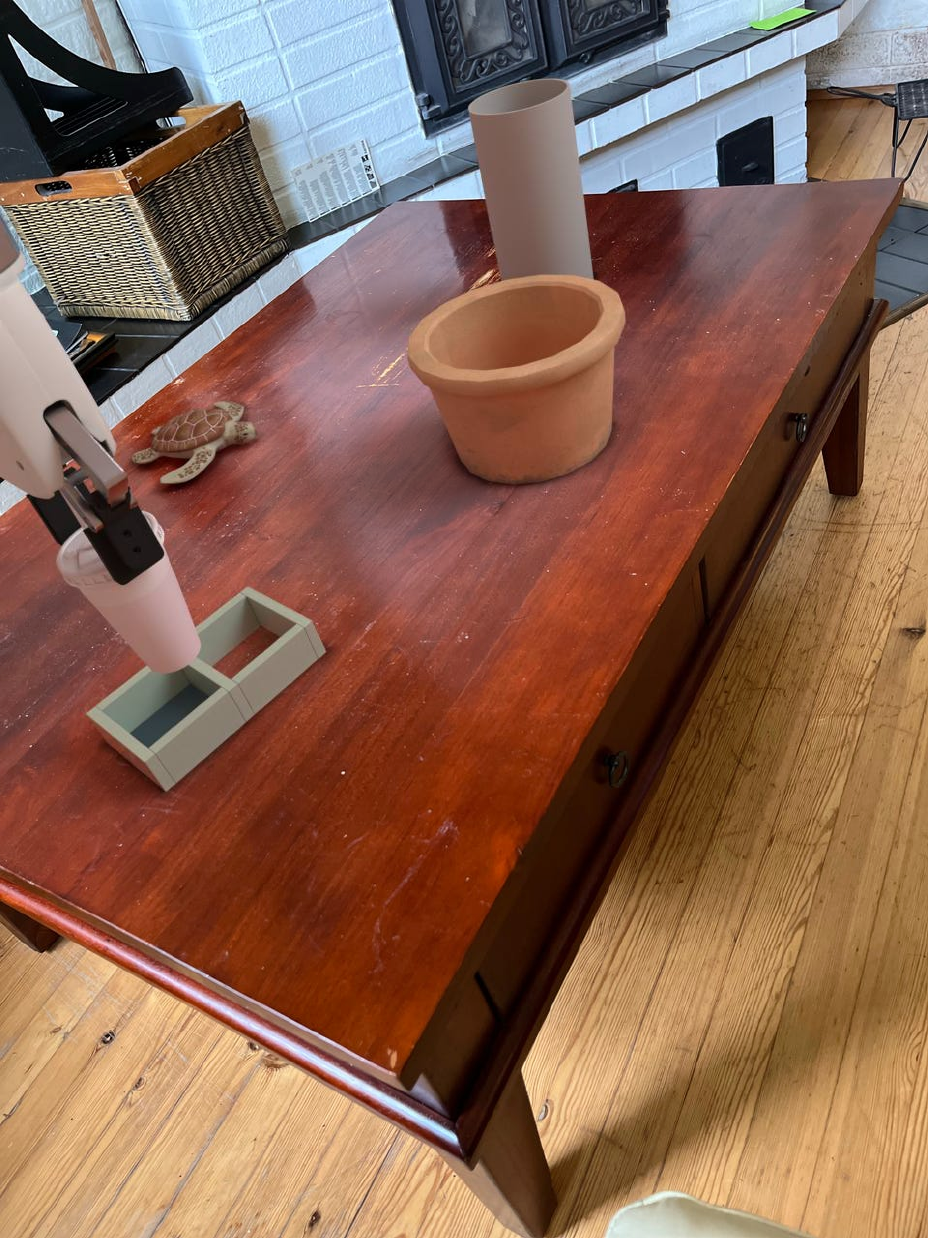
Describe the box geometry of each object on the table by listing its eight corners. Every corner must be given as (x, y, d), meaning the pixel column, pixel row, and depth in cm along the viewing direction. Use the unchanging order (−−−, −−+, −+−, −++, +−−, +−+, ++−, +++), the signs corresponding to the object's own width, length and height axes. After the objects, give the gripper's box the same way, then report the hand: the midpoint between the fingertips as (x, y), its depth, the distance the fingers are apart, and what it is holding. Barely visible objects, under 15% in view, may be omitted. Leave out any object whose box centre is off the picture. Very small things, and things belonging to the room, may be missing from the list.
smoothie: (109, 680, 60) (-9, 512, 51) (166, 614, 64) (66, 446, 55) (184, 696, 57) (74, 521, 48) (238, 626, 61) (147, 452, 52)
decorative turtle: (235, 488, 107) (218, 452, 104) (115, 495, 112) (95, 461, 109) (286, 405, 120) (272, 370, 116) (176, 415, 124) (160, 382, 121)
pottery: (491, 386, 112) (467, 272, 102) (665, 399, 101) (656, 274, 92) (402, 491, 99) (365, 372, 90) (590, 518, 89) (570, 387, 79)
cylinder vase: (487, 301, 130) (448, 110, 113) (554, 265, 134) (525, 75, 117) (543, 322, 121) (510, 118, 104) (613, 283, 125) (591, 81, 108)
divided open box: (170, 798, 74) (144, 762, 71) (111, 749, 80) (85, 713, 76) (329, 658, 82) (312, 620, 79) (265, 622, 88) (247, 585, 85)
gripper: (-198, 272, 46) (-3, 544, 58) (-74, 325, 36) (132, 642, 48) (-63, 212, 50) (95, 480, 62) (87, 244, 39) (242, 559, 51)
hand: (110, 549), depth 55 cm, fingers closed on smoothie, 6 cm apart
